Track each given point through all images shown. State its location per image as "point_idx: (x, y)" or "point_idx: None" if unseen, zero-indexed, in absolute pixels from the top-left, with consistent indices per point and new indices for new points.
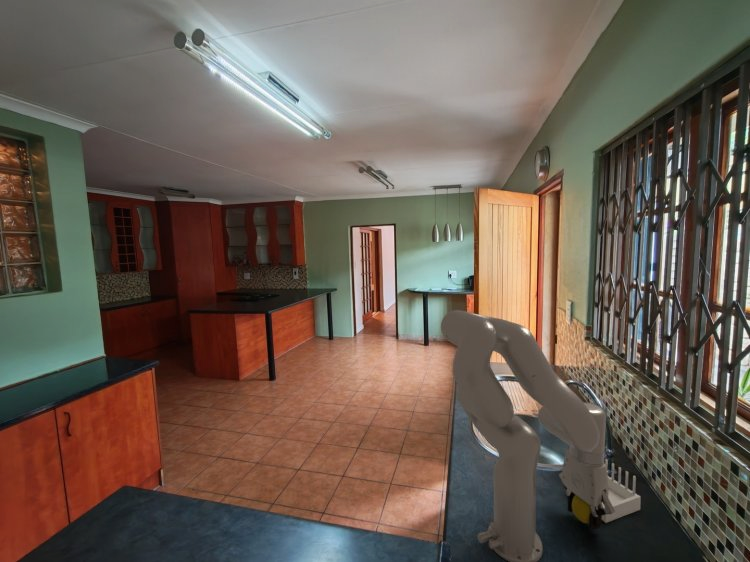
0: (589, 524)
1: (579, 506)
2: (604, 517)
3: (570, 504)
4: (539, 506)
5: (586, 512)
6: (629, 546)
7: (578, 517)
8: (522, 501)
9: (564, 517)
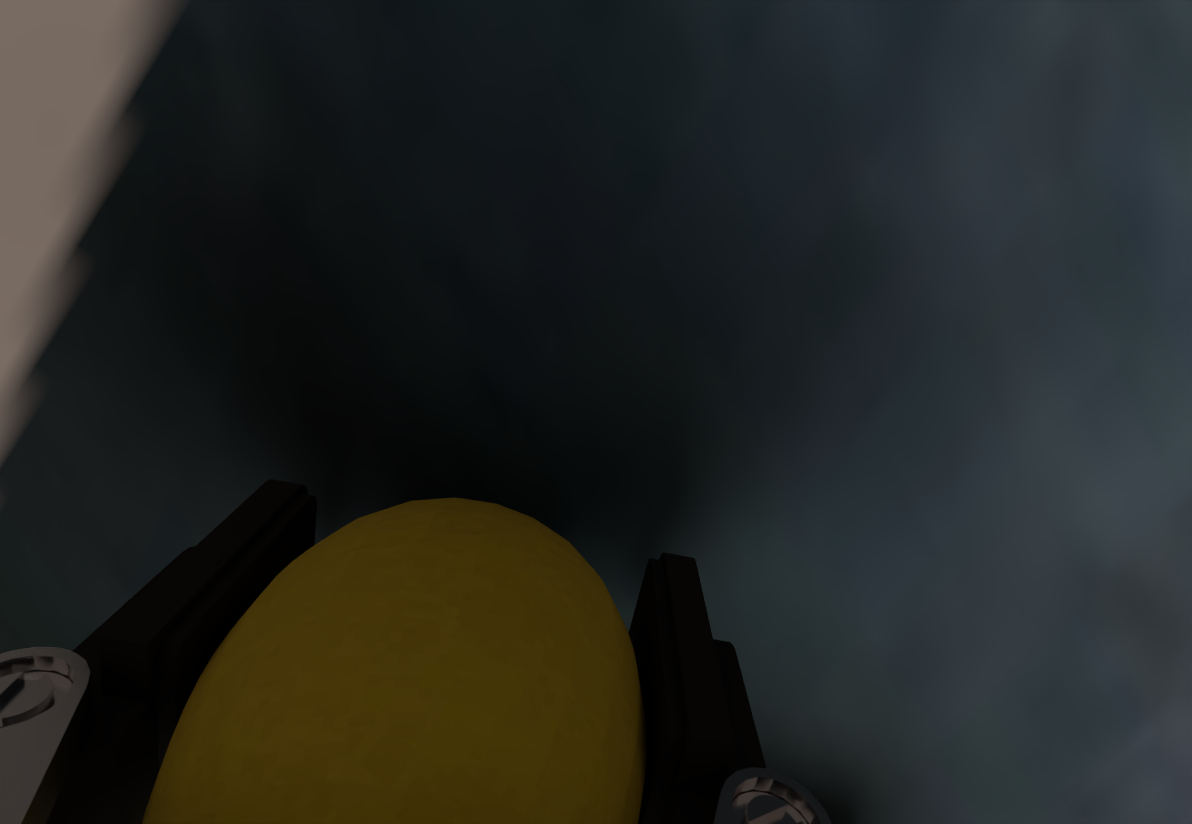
0: (280, 517)
1: (346, 650)
2: None
3: (659, 639)
4: (1042, 358)
5: (241, 635)
6: None
7: (442, 500)
8: None
9: (700, 462)
